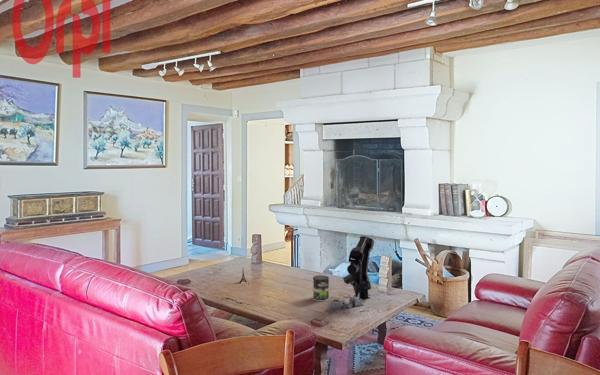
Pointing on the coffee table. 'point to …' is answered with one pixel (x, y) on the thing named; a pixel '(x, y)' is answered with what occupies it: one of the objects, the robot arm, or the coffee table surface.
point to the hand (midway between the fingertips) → (356, 295)
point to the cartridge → (346, 299)
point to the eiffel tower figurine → (243, 278)
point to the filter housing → (341, 305)
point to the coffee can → (320, 288)
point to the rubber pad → (331, 311)
